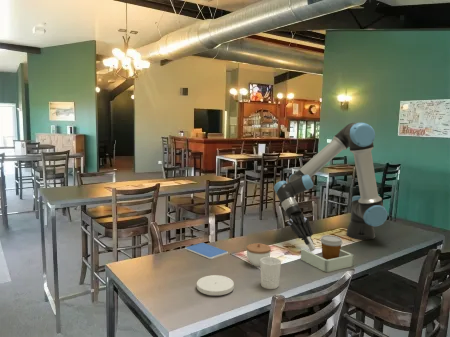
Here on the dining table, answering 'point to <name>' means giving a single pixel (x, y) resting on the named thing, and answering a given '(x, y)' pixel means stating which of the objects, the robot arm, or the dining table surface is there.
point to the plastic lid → (215, 285)
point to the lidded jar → (257, 253)
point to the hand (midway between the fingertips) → (313, 250)
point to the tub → (328, 261)
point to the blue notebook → (206, 250)
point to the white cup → (270, 272)
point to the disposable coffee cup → (330, 246)
